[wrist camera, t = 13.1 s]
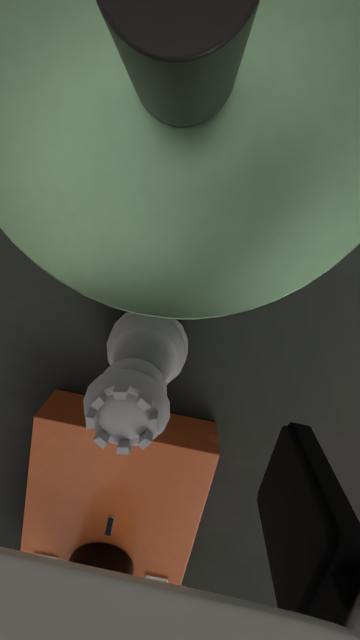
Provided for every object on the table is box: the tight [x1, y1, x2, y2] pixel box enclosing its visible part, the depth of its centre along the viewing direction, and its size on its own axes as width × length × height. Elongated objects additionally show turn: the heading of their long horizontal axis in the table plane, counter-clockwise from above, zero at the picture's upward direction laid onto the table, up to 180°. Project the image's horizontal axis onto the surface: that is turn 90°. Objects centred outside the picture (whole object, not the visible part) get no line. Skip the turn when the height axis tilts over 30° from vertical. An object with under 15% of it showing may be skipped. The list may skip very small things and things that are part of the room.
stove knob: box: [69, 543, 134, 575], centre depth 18 cm, size 4×4×5 cm
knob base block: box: [21, 389, 220, 586], centre depth 21 cm, size 14×10×3 cm
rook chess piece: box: [83, 312, 188, 455], centre depth 15 cm, size 4×4×8 cm
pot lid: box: [0, 0, 360, 320], centre depth 6 cm, size 12×12×5 cm
